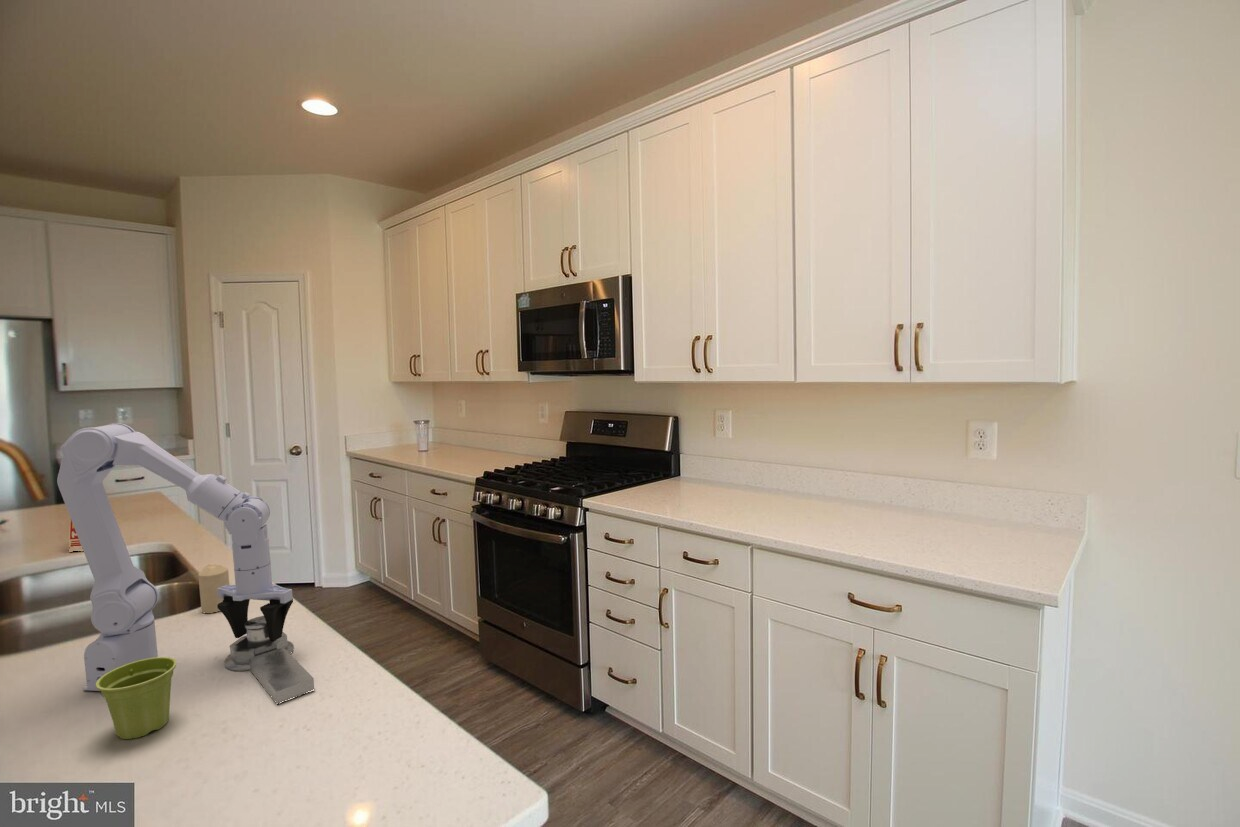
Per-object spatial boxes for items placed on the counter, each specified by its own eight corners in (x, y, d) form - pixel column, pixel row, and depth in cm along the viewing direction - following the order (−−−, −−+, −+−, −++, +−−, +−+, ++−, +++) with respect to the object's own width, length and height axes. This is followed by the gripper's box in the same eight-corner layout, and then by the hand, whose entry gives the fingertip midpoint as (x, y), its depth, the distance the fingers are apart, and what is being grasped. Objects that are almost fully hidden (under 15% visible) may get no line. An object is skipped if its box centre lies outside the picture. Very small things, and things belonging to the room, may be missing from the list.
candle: (237, 604, 137) (233, 561, 136) (218, 614, 131) (214, 569, 131) (214, 603, 137) (210, 561, 137) (195, 613, 132) (191, 569, 131)
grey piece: (332, 684, 101) (330, 667, 101) (257, 712, 93) (256, 693, 93) (283, 636, 119) (282, 622, 119) (218, 657, 112) (216, 641, 111)
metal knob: (245, 661, 109) (242, 629, 108) (248, 649, 113) (246, 618, 113) (277, 654, 111) (274, 623, 110) (279, 643, 115) (277, 613, 115)
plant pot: (87, 753, 84) (80, 694, 84) (122, 715, 93) (116, 662, 93) (165, 740, 87) (159, 682, 86) (192, 705, 96) (187, 652, 95)
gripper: (200, 571, 108) (206, 644, 109) (268, 575, 104) (274, 650, 106) (233, 558, 115) (239, 627, 116) (298, 561, 111) (304, 632, 113)
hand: (258, 637), depth 111 cm, fingers open, 7 cm apart
